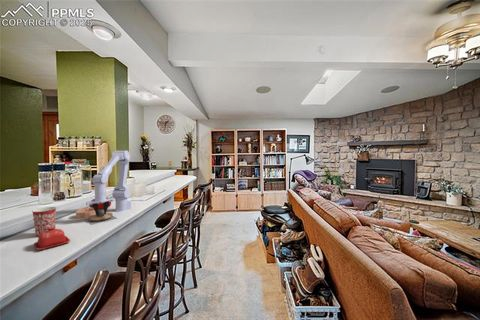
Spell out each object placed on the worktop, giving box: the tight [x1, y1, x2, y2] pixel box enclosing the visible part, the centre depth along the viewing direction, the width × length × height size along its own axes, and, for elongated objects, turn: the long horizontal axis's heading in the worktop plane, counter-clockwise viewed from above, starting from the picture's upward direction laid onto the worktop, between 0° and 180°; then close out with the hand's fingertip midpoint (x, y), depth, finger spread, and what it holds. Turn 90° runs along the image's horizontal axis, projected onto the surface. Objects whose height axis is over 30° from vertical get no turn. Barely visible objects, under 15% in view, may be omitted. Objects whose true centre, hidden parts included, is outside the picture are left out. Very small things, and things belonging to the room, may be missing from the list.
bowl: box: [75, 207, 96, 220], centre depth 133 cm, size 11×11×4 cm
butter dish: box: [33, 226, 71, 251], centre depth 94 cm, size 12×12×8 cm
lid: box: [88, 209, 114, 221], centre depth 127 cm, size 12×12×6 cm
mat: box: [83, 215, 118, 226], centre depth 127 cm, size 14×14×1 cm
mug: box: [32, 206, 57, 238], centre depth 107 cm, size 13×9×14 cm
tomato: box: [88, 196, 112, 209], centre depth 150 cm, size 14×13×9 cm
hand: (101, 214), depth 127 cm, fingers closed on lid, 4 cm apart
